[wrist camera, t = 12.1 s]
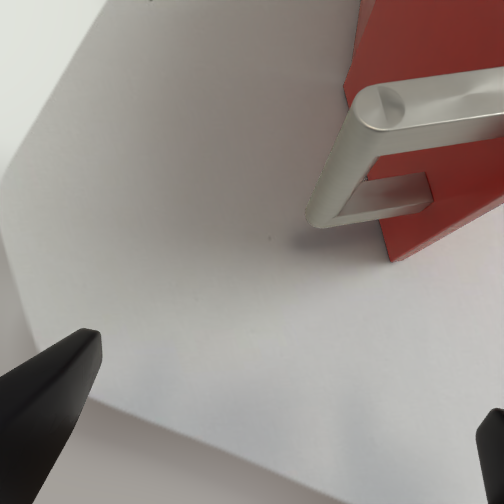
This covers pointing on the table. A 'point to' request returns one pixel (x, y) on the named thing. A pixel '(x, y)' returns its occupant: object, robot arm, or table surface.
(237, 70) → the table surface
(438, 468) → the table surface
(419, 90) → the red cabinet door
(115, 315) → the table surface
